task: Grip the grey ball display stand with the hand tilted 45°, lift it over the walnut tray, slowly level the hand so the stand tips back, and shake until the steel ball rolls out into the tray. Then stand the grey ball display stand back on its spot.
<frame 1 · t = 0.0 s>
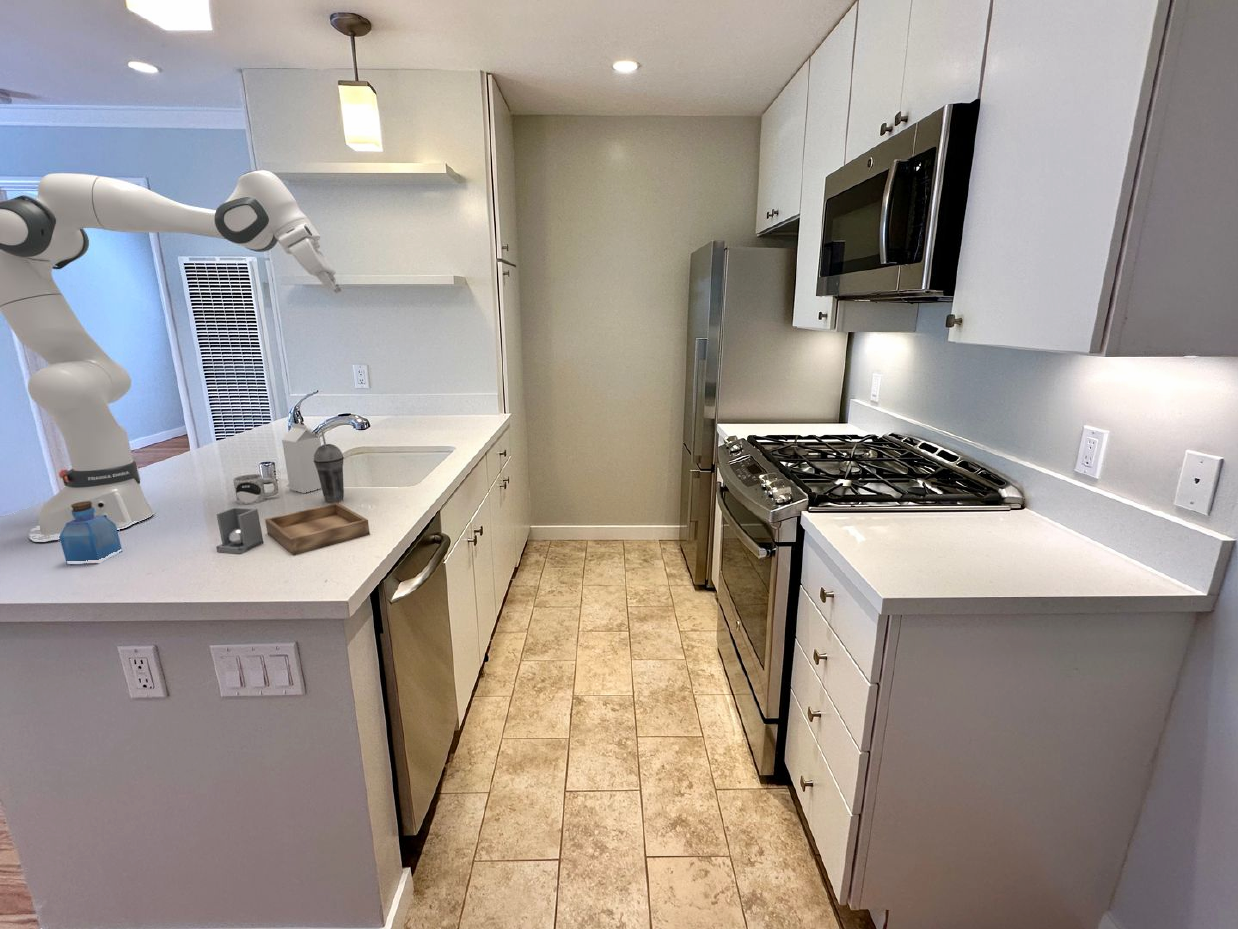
hand: (336, 291, 143), 54 cm above the countertop, tool tilted 30°, fingers open, 8 cm apart
grey ball display stand: (240, 547, 124), on the countertop, touching steel ball
perfume bottle: (95, 559, 119), on the countertop
beverage cup: (334, 501, 155), on the countertop
mug: (259, 500, 156), on the countertop
steel ball: (238, 536, 123), point 3 cm above the countertop, touching grey ball display stand
walnut tray: (318, 533, 131), on the countertop
milk carton: (308, 489, 166), on the countertop
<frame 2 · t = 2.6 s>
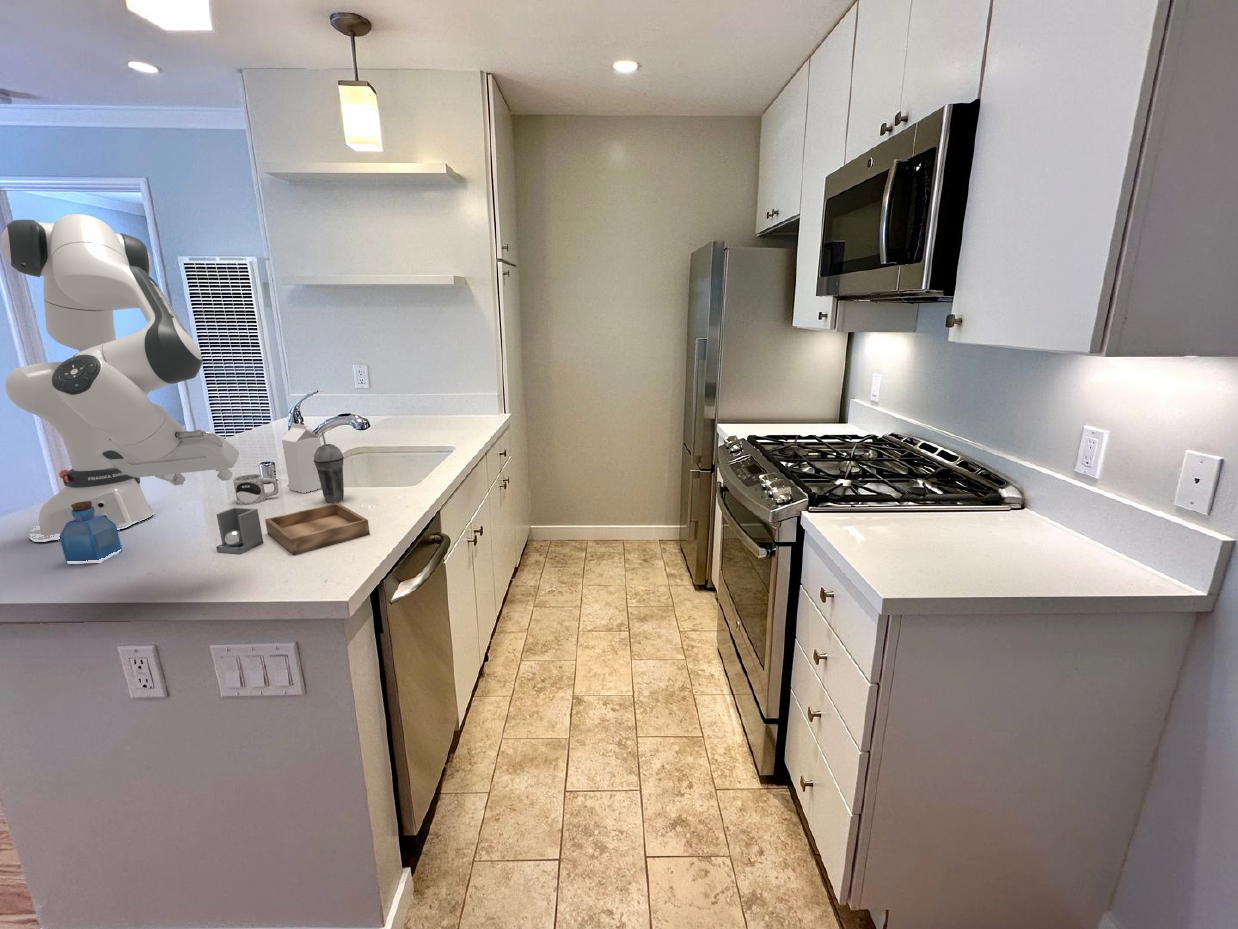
hand: (204, 479, 111), 18 cm above the countertop, tool tilted 40°, fingers open, 8 cm apart
steel ball: (234, 538, 122), point 3 cm above the countertop, tilted 34°, touching grey ball display stand
everything else where it was.
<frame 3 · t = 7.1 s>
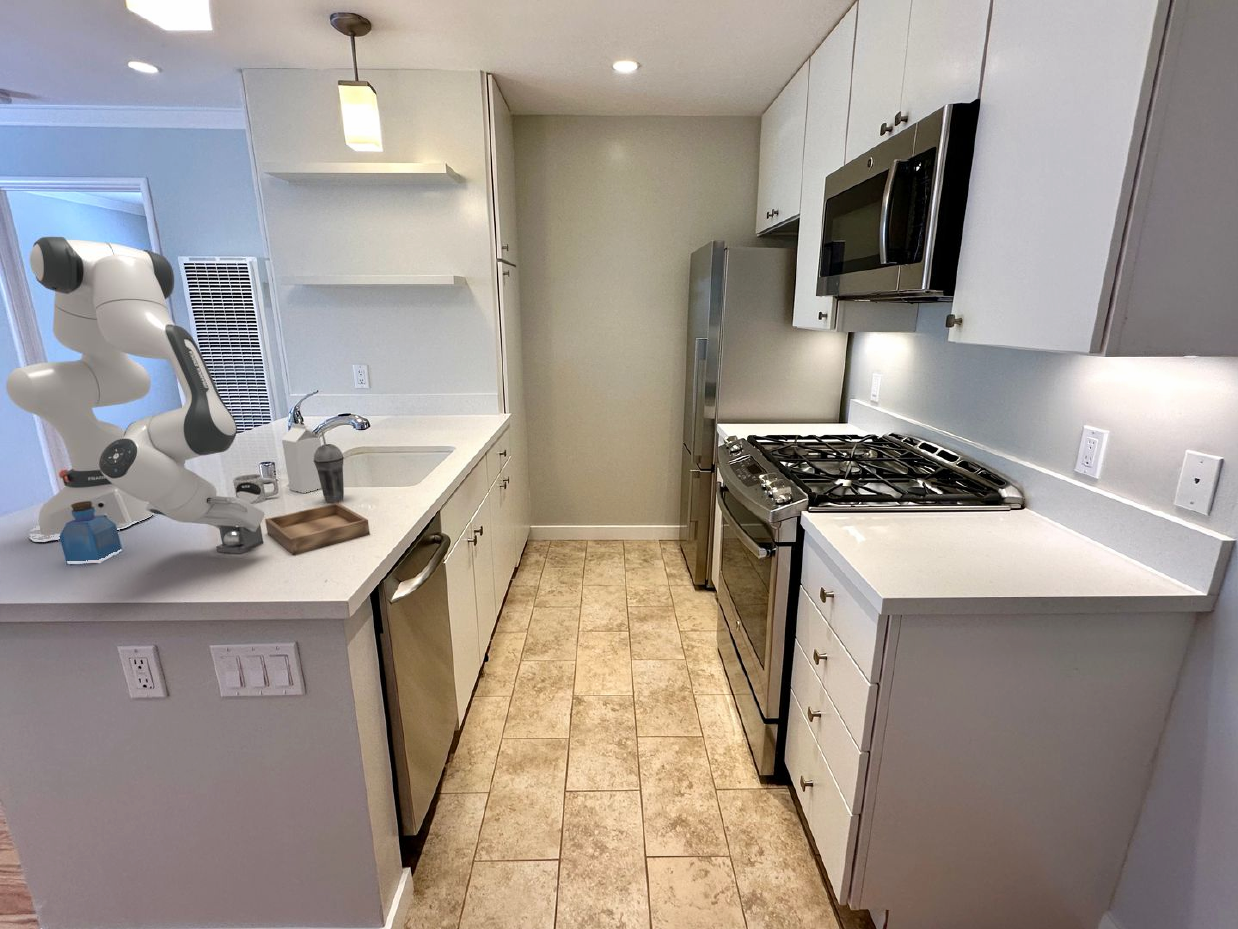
hand: (239, 527, 124), 4 cm above the countertop, tool tilted 45°, fingers closed on grey ball display stand, 6 cm apart
grey ball display stand: (240, 547, 124), on the countertop, touching gripper, steel ball
steel ball: (233, 538, 122), point 3 cm above the countertop, tilted 44°, touching grey ball display stand
everything else where it was.
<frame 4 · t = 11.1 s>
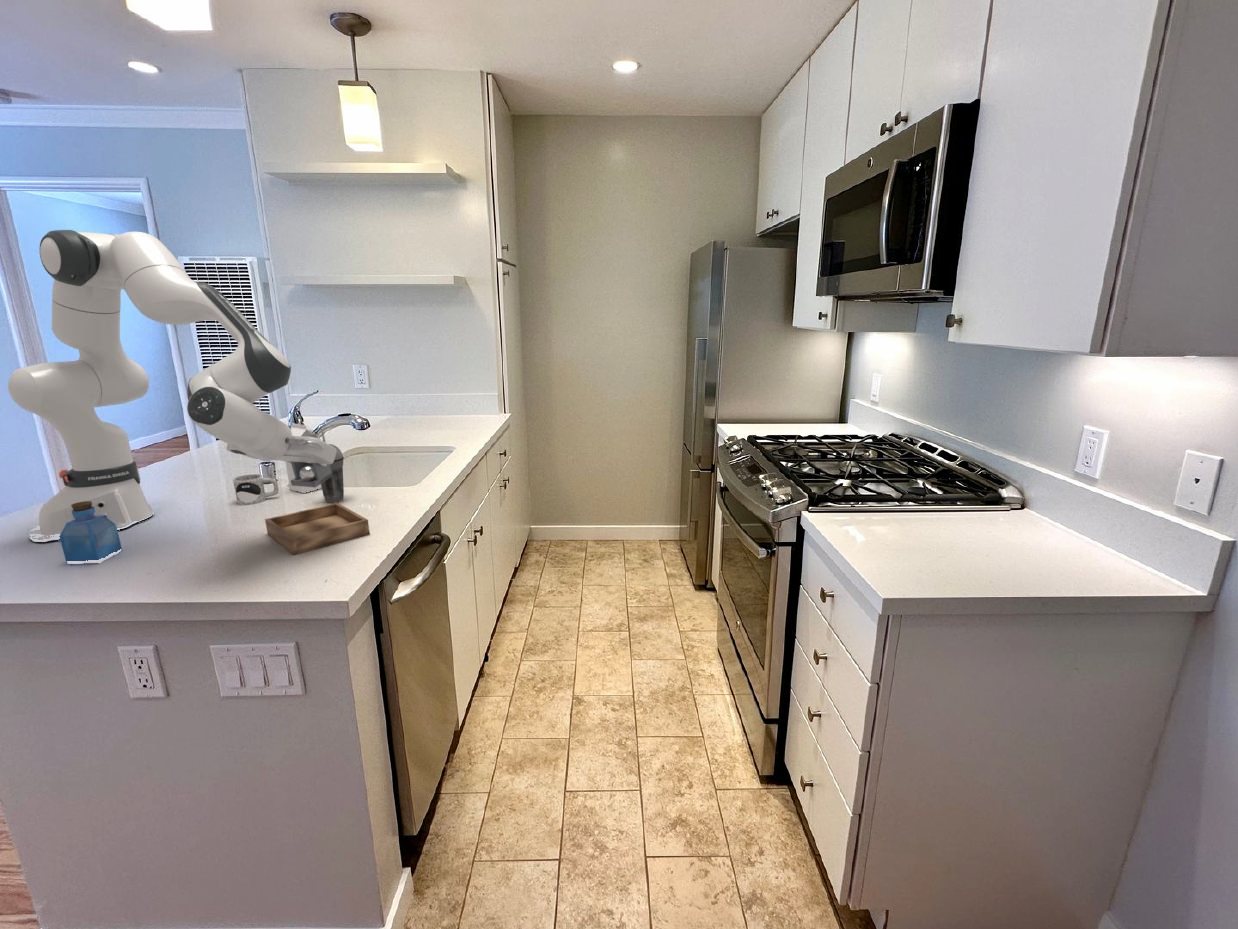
hand: (309, 462, 130), 16 cm above the countertop, tool tilted 55°, fingers closed on grey ball display stand, 6 cm apart
grey ball display stand: (312, 480, 132), point 12 cm above the countertop, tilted 10°, touching gripper, steel ball
steel ball: (308, 473, 129), point 14 cm above the countertop, tilted 59°, touching grey ball display stand
everything else where it was.
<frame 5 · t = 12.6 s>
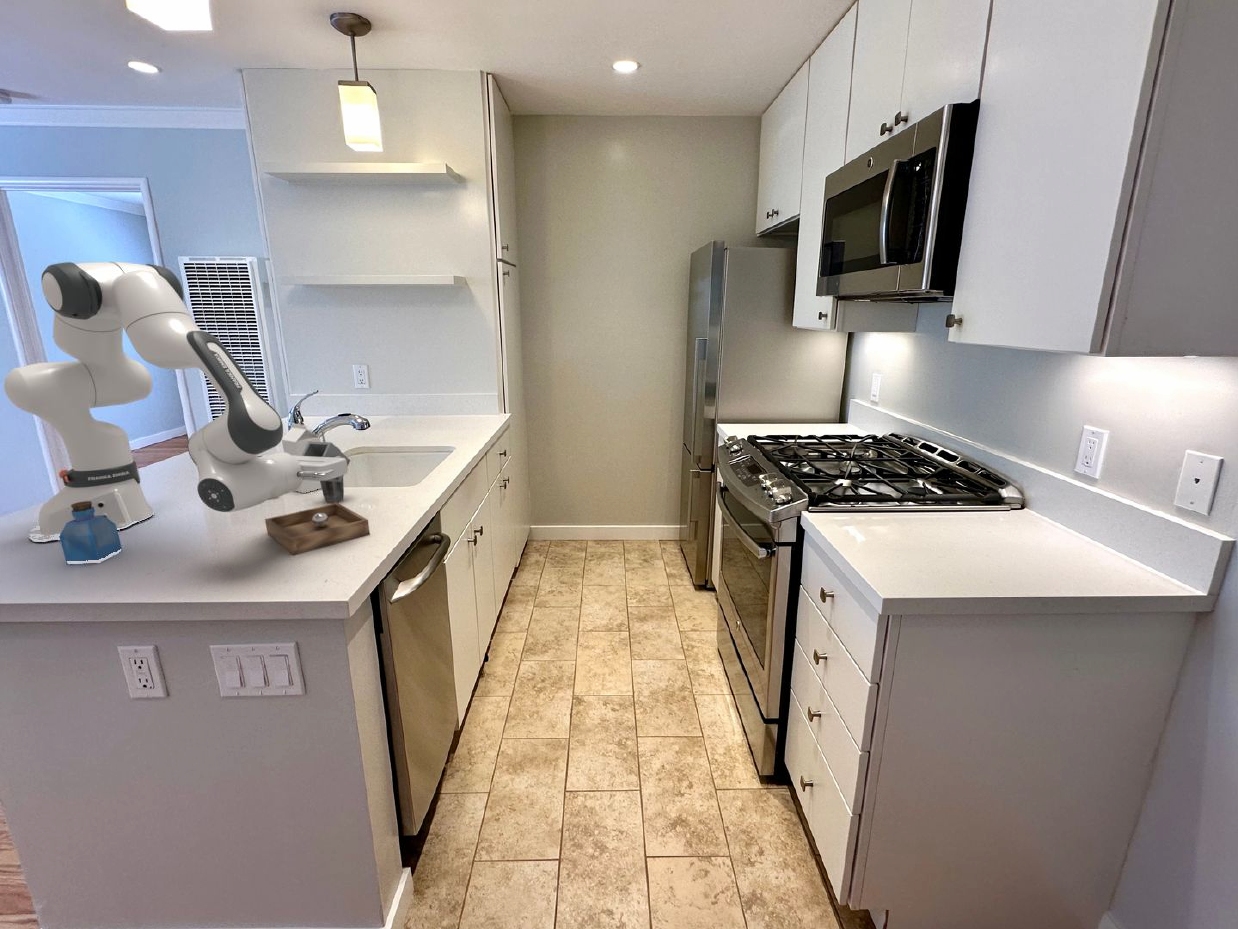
hand: (324, 458, 134), 16 cm above the countertop, tool horizontal, fingers closed on grey ball display stand, 6 cm apart
grey ball display stand: (334, 470, 138), point 12 cm above the countertop, tilted 45°, touching gripper
steel ball: (320, 520, 133), point 3 cm above the countertop, tilted 54°
everything else where it was.
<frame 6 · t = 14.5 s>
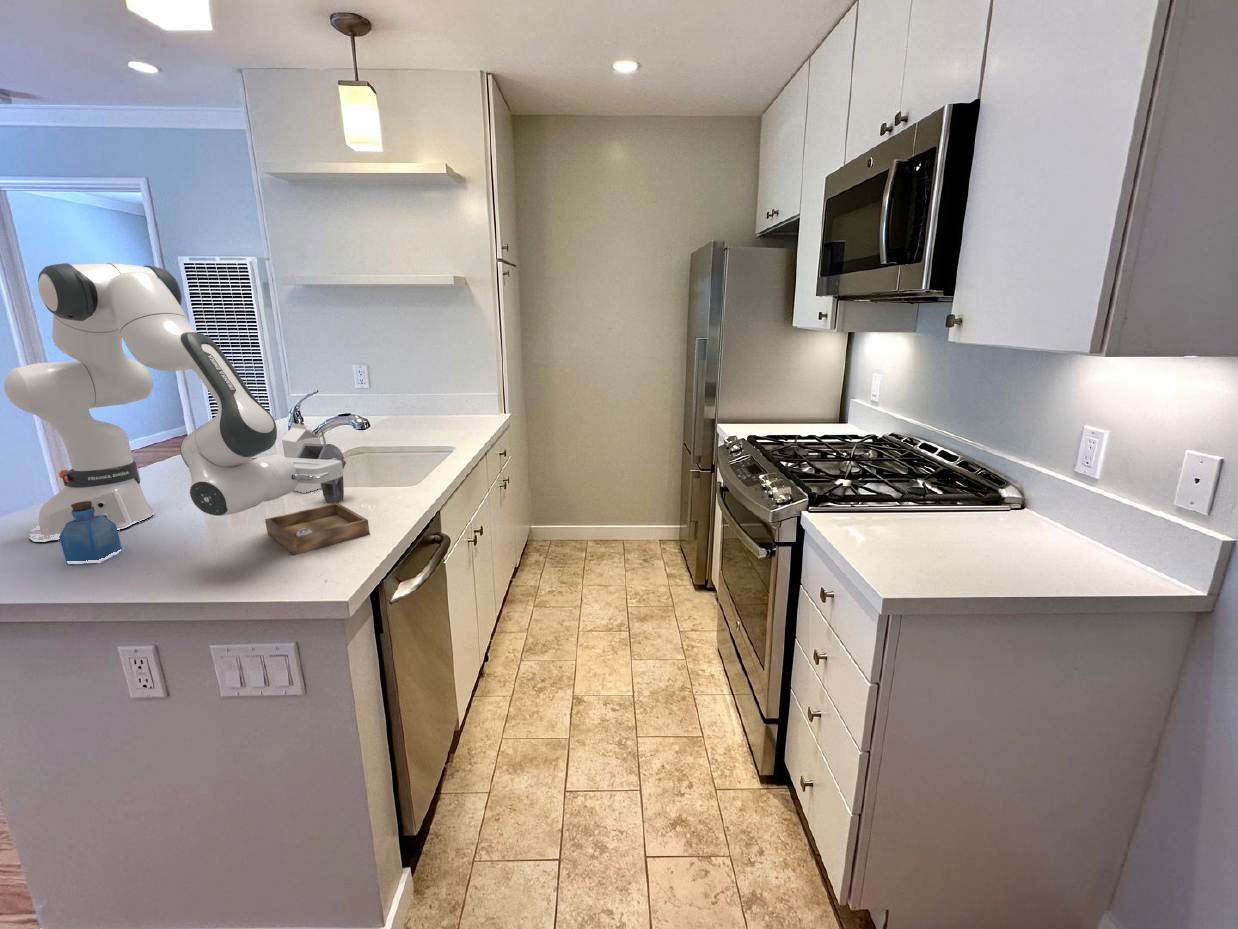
hand: (320, 460, 133), 16 cm above the countertop, tool horizontal, fingers closed on grey ball display stand, 6 cm apart
grey ball display stand: (330, 472, 136), point 12 cm above the countertop, tilted 45°, touching gripper
steel ball: (304, 536, 123), point 3 cm above the countertop, tilted 79°, touching walnut tray
everything else where it was.
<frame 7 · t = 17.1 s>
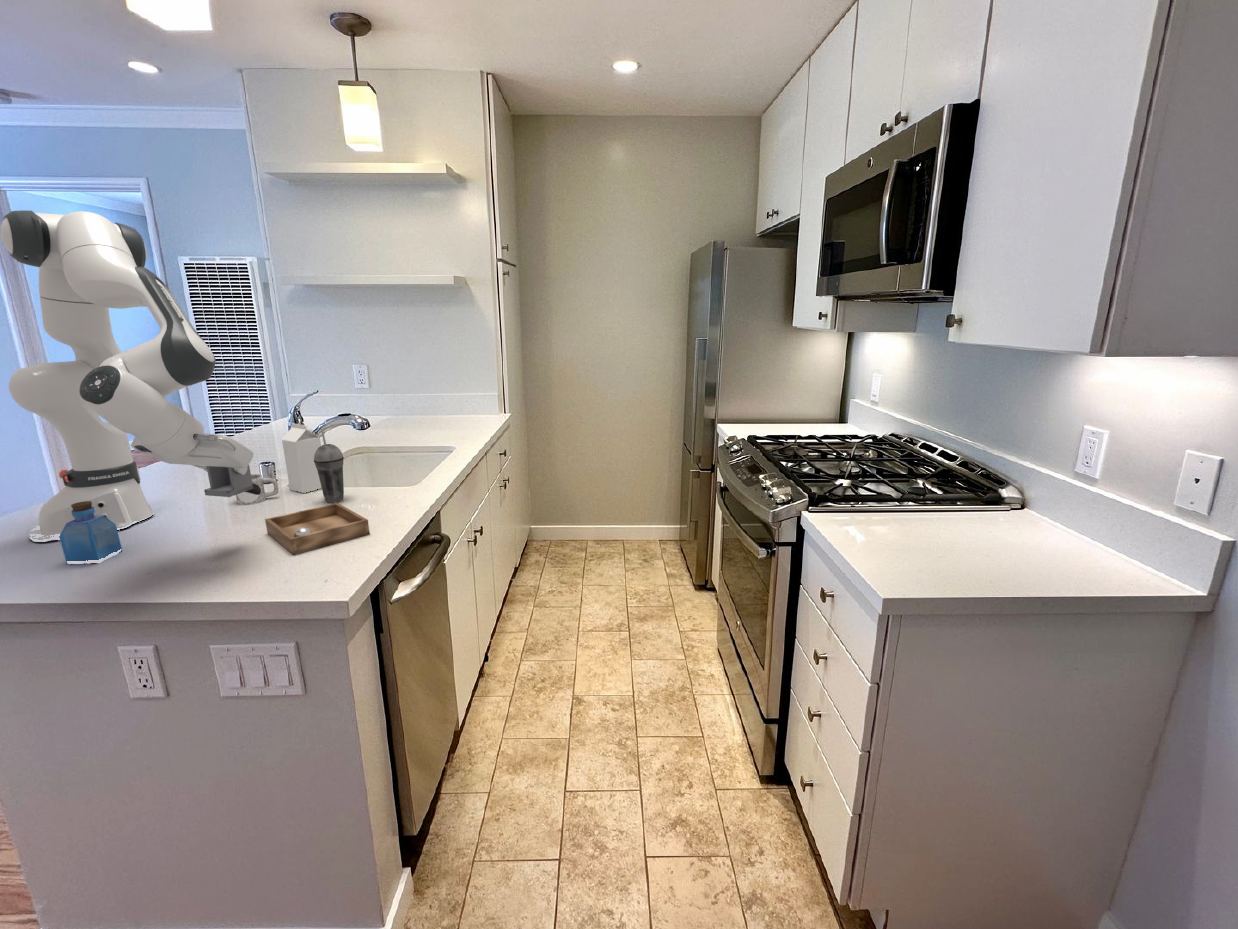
hand: (228, 470, 120), 17 cm above the countertop, tool tilted 45°, fingers closed on grey ball display stand, 6 cm apart
grey ball display stand: (229, 491, 121), point 13 cm above the countertop, touching gripper
steel ball: (303, 535, 124), point 3 cm above the countertop, tilted 101°, touching walnut tray
everything else where it was.
when the fingers open (5 cm above the countertop, at t = 20.6 s): grey ball display stand stays where it is, on the countertop.
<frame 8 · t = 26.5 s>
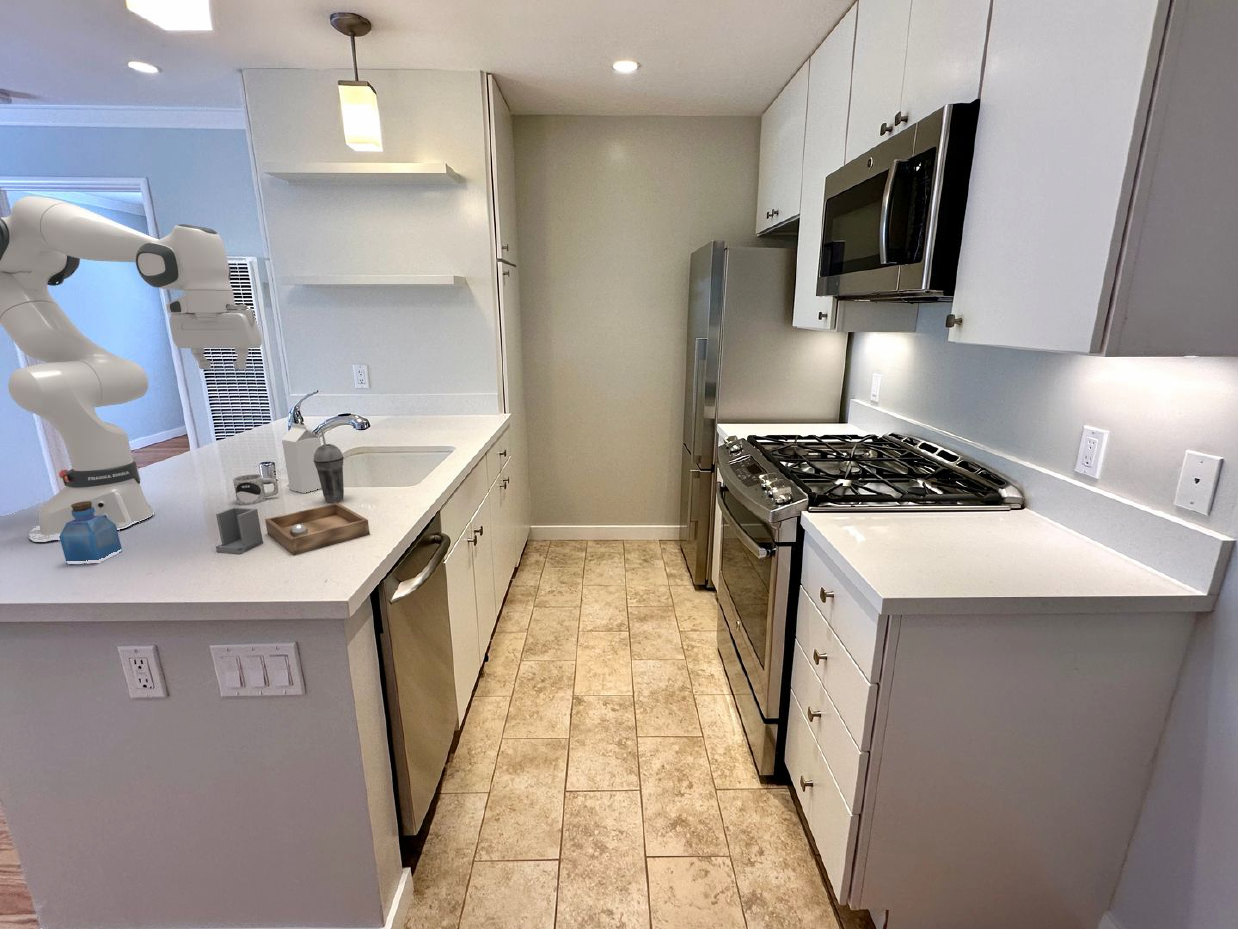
hand: (222, 369, 128), 37 cm above the countertop, tool pointing down, fingers open, 8 cm apart
grey ball display stand: (240, 547, 124), on the countertop
steel ball: (299, 531, 126), point 3 cm above the countertop, tilted 148°, touching walnut tray
everything else where it was.
at the end: steel ball inside the target area on the walnut tray (5.4 cm from its centre), point 2.5 cm above the walnut tray's base; grey ball display stand tilted 0°; the gripper is holding nothing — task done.
